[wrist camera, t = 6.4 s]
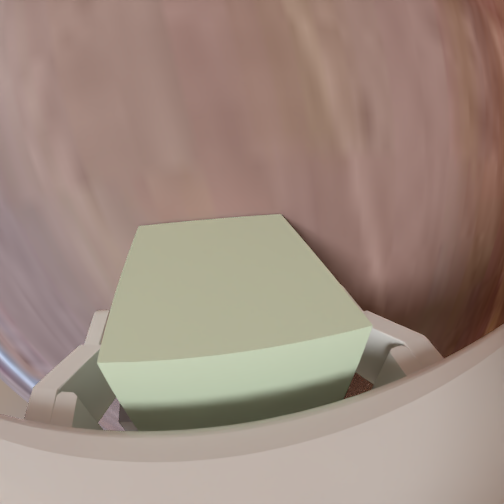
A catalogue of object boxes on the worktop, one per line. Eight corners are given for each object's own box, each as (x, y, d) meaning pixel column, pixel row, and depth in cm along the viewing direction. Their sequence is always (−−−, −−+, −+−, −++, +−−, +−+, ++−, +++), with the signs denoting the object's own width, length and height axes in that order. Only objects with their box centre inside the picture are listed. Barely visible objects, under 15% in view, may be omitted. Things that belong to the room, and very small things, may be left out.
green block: (280, 214, 10) (372, 325, 5) (274, 321, 12) (324, 437, 7) (138, 226, 9) (97, 362, 4) (161, 334, 11) (163, 463, 6)
